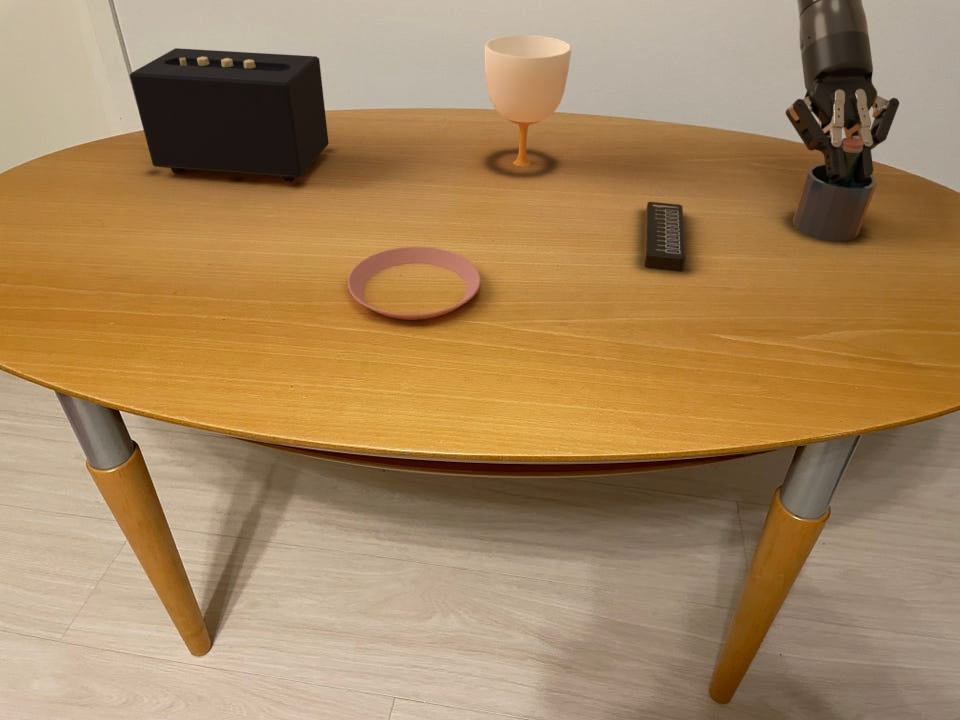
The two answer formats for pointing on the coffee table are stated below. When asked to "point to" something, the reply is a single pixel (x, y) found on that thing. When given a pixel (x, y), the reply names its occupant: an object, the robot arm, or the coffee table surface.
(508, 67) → the cup
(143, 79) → the speaker
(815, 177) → the pen cup
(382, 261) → the ring
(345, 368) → the coffee table surface
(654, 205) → the dark brown flat block
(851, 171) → the pencil
